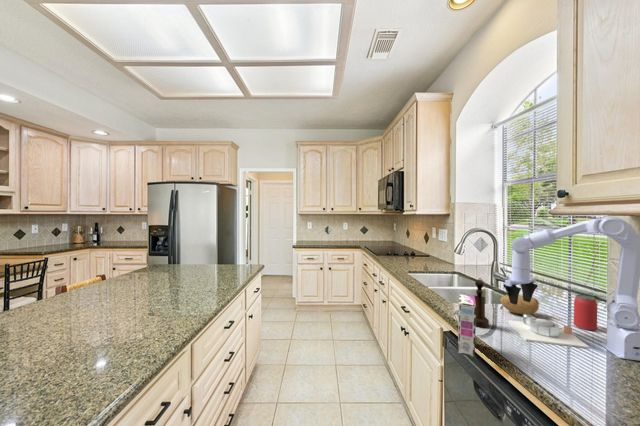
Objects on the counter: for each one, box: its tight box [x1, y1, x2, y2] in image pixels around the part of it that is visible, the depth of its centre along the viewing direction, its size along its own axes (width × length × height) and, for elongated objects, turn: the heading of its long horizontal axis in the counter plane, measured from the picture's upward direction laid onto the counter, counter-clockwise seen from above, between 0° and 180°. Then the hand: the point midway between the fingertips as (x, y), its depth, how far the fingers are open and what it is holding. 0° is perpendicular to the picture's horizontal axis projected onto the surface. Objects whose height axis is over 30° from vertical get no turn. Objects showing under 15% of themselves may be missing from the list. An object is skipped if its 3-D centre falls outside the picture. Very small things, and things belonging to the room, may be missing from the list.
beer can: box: [573, 294, 598, 332], centre depth 107 cm, size 7×7×12 cm
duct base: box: [507, 318, 590, 349], centre depth 101 cm, size 17×18×5 cm
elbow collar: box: [522, 313, 560, 337], centre depth 104 cm, size 13×8×3 cm, turn 3°
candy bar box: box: [457, 293, 477, 358], centre depth 91 cm, size 11×5×16 cm, turn 152°
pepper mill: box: [474, 279, 490, 328], centre depth 109 cm, size 7×6×18 cm
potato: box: [499, 294, 540, 316], centre depth 121 cm, size 10×14×8 cm
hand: (520, 302), depth 106 cm, fingers open, 7 cm apart
